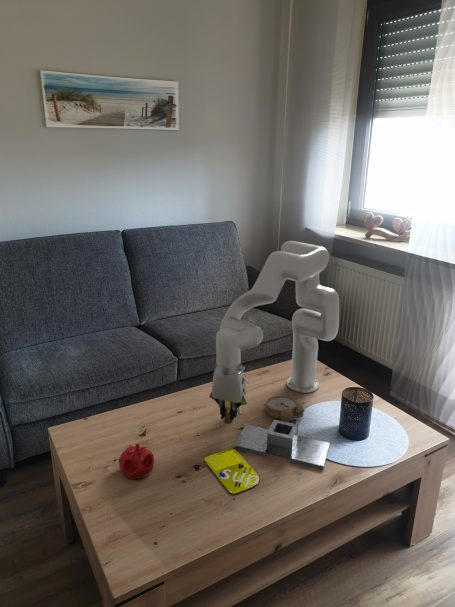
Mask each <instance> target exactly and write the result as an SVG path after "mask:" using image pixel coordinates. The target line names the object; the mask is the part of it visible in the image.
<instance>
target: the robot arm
mask: <svg viewBox="0 0 455 607" xmlns="http://www.w3.org/2000/svg"><path fill="white" fill-rule="evenodd" d="M329 260H330V253H329V251H328V250H327V248H325V247H324V246H320V245H316V244H312V243H307V242H301V241H295V240H289V241H288V240H287V241H285V242H284V243H282V245H281V248H280V250H277V251H273V252H271V253H270V254H269V255H268V257H267V258H266V261H265V263H264V265H263V267H262V268H261V271H260V273H259V274H258V277H257V279H256V281H255V283H254V285H253V286H252V288H251V289H249V291H247V292H245V293H242V295H240V296H239V297H238V298H237V299H235V300H234V301H233V302H232V303H231V304H230V306H229V307H227V311H226V312H225V315H224V316H223V319H222V320H221V323H220V327H219V330H218V331H217V332H216V335H215V336H216V337H215V338H216V339H215V341H216V342H215V348H216V349H215V351H216V357H215V358H216V361H215V362H216V363H215V364H216V367H215V369H214V372H213V376H212V384H211V385H212V386H211V392H210V394H209V398H211V399H212V400H214V402H215V403H216V404H217V405H218V408H219V414H220V415H221V417H220V419H223V420H224V419H225V416H224V400H226V401H231V402H232V409H231V421H232V422H233V421H234V419H236V418H237V417H238V415H237V413H238V412H237V409H238V407H239V408H240V407H241V406H246V405H248V403H249V400H248V399H247V396H246V394H247V392H246V391H247V388H246V382H245V380H246V378H245V373H244V371H245V370H246V366H244V365H242V359H241V353H242V351H245V350H249V349H253V348H255V347H258V346H259V345H260V344H261V342H262V341H263V338H264V332H263V329H262V328H261V327H260V326H258V325H257V324H254V323H251V322H249V321H245V320H243V319H241V318H242V317H243V316H244V315H245V313H246V312H247V311H249V310H251V309H253V308H255V307H258V306H263V305H267V304H268V305H269V304H273V303H274V302H276V301H277V299H278V298H279V294H280V293H281V291H282V289H283V287H284V284H285V282H286V281H287V280H290V281H294V282H295V301H296V304H297V305H298V306H299V307H301V308H299V309H297V310H296V311H295V312H294V313H293V315H292V317H291V327H292V336H293V338H292V339H293V342H292V352H291V353H292V355H291V370H290V372H291V373H290V376H289V377H288V378H287V379H286V386H287V388H288V389H289V390H292V391H294V392H296V393H305V394H306V393H308V394H309V393H312V392H315V391H317V390H318V389H319V387H320V383H319V381H318V380H317V379H316V377H317V376H316V375H317V366H318V365H317V364H318V352H319V342H318V340H321V341H325V342H330V341H333V340H334V339H335V338H336V337H337V335H338V332H339V324H340V319H339V318H340V297H339V293H338V292H337V291H336V290H335V289H334V288H331V287H329V286H324V285H321V283H320V273H321V272H323V271H324V270H325V269H326V268H327V266H328V264H329V262H330V261H329Z"/></svg>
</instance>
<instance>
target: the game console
mask: <svg viewBox="0 0 455 607" xmlns="http://www.w3.org/2000/svg"><path fill="white" fill-rule="evenodd" d="M204 463H205V465H206V466H207V467H208V468H209V470H210V471H211V472H212V473H213V475H214V477H216V479H217V480H218V481H219V482H220V484H221V485H222V486H223V487H224V489H225V491H227V492H228V494H230V495H232V496H236V495H238V494H242V493H244V492H246V491H249V490H252V489H254V488H256V487H257V486H258V485H259V482H260V477H259V475H258V473H257V472H256V471H255V470H254V468H253V467H252V466H251V465H250V464H249V463H248V462H247V461H246V460H245V458H244V457H243V456H242V455H241V454H240V453H239V452H238V451H237V450H236V449H234V448H227V449H225V450H222V451H219V452H217V453H213V454H211V455H208V456H206V457H204Z"/></svg>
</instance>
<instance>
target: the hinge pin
mask: <svg viewBox="0 0 455 607" xmlns="http://www.w3.org/2000/svg"><path fill="white" fill-rule="evenodd" d="M231 409H232V402H231V401H226V400H224V416H225V417H224V423H225V424H226V425H227V424H229V425H230V424H232V423H233V421H231Z"/></svg>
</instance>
